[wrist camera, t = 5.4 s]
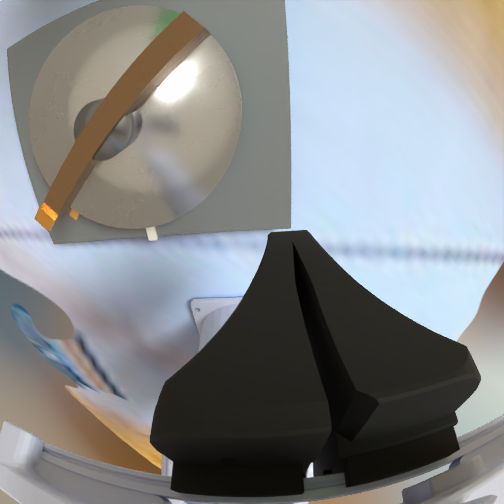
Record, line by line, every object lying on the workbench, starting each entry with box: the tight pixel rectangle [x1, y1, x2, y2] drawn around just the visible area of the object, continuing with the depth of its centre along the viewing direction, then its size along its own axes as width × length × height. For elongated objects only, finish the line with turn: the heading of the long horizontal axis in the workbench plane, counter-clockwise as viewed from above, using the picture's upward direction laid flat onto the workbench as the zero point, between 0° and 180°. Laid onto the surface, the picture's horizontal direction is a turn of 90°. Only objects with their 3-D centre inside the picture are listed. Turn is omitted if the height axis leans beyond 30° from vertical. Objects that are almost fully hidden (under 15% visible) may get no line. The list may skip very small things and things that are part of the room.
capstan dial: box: [29, 5, 242, 231], centre depth 12 cm, size 13×13×4 cm
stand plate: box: [7, 0, 291, 244], centre depth 14 cm, size 16×18×2 cm
